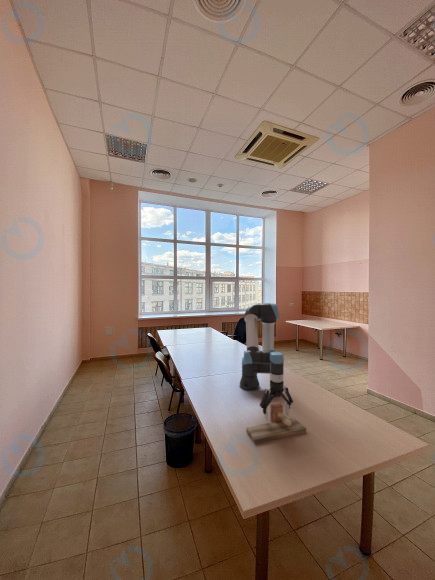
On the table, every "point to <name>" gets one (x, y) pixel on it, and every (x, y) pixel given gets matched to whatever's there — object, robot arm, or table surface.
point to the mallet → (278, 414)
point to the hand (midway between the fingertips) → (276, 417)
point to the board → (274, 430)
